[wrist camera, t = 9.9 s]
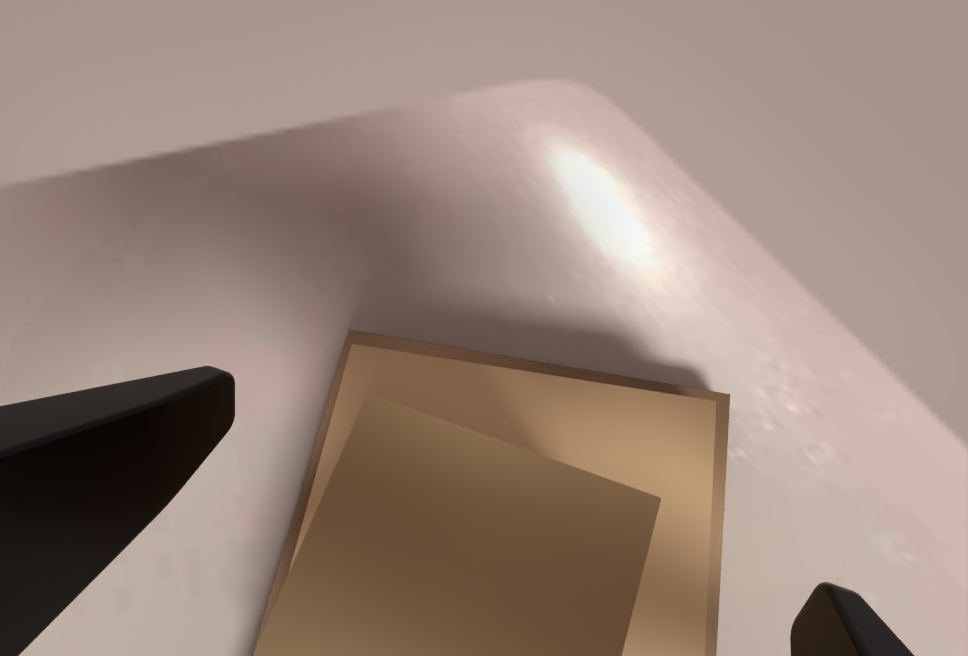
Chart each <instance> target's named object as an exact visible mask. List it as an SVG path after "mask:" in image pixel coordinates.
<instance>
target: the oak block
mask: <svg viewBox="0 0 968 656" xmlns="http://www.w3.org/2000/svg"><path fill="white" fill-rule="evenodd" d="M660 502H661V498H660V497H657V496H655V495H652V494H649V493H646V492H643V491H641V490H638V489H635V488H632V487H629V486H627V485H624V484H621V483H618V482H616V481H613V480H610V479H607V478H604V477H602V476H599V475H596V474H593V473H590V472H588V471H585V470H582V469H579V468H576V467H574V466H571V465H568V464H565V463H563V462H560V461H557V460H554V459H551V458H549V457H546V456H543V455H540V454H537V453H535V452H532V451H529V450H526V449H524V448H521V447H518V446H515V445H512V444H510V443H507V442H504V441H501V440H498V439H496V438H493V437H490V436H487V435H484V434H482V433H479V432H476V431H473V430H471V429H468V428H465V427H462V426H459V425H457V424H454V423H451V422H448V421H445V420H443V419H440V418H437V417H434V416H432V415H429V414H426V413H423V412H420V411H418V410H415V409H412V408H409V407H406V406H404V405H401V404H398V403H395V402H392V401H390V400H387V399H384V398H381V397H379V396H376V395H373V394H370V393H367V395H366V398H365V400H364V402H363V405H362V407H361V409H360V411H359V414H358V416H357V418H356V421H355V423H354V425H353V427H352V430H351V432H350V434H349V437H348V439H347V441H346V443H345V446H344V448H343V450H342V453H341V455H340V457H339V459H338V462H337V464H336V466H335V469H334V471H333V473H332V475H331V478H330V480H329V482H328V485H327V487H326V489H325V491H324V494H323V496H322V498H321V501H320V503H319V505H318V507H317V510H316V512H315V514H314V517H313V519H312V521H311V523H310V526H309V528H308V530H307V533H306V535H305V537H304V539H303V542H302V544H301V546H300V549H299V551H298V553H297V555H296V558H295V560H294V562H293V565H292V567H291V569H290V571H289V574H288V576H287V578H286V581H285V583H284V585H283V587H282V590H281V592H280V594H279V597H278V599H277V601H276V603H275V606H274V608H273V610H272V613H271V615H270V617H269V620H268V622H267V624H266V626H265V629H264V631H263V633H262V636H261V638H260V640H259V642H258V645H257V647H256V649H255V652H254V654H253V656H622V652H623V648H624V644H625V640H626V636H627V632H628V628H629V624H630V620H631V616H632V612H633V608H634V605H635V601H636V597H637V593H638V589H639V585H640V581H641V577H642V573H643V569H644V565H645V561H646V557H647V553H648V549H649V545H650V541H651V537H652V533H653V529H654V525H655V521H656V518H657V514H658V510H659V506H660Z"/></svg>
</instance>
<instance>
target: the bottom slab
mask: <svg viewBox="0 0 968 656" xmlns="http://www.w3.org/2000/svg"><path fill="white" fill-rule="evenodd" d="M352 344H356V345H363V346H369V347H375V348H382V349H388V350H394V351H401V352H407V353H413V354H420V355H426V356H433V357H439V358H445V359H452V360H458V361H464V362H471V363H477V364H483V365H490V366H496V367H503V368H509V369H515V370H522V371H528V372H534V373H541V374H547V375H553V376H560V377H566V378H573V379H579V380H585V381H592V382H598V383H604V384H611V385H617V386H623V387H630V388H636V389H643V390H649V391H655V392H662V393H668V394H674V395H681V396H687V397H693V398H700V399H706V400H713V401H716V421H715V443H714V465H713V487H712V509H711V531H710V553H709V575H708V597H707V619H706V641H705V656H716V650H717V631H718V612H719V593H720V574H721V556H722V537H723V518H724V499H725V480H726V461H727V442H728V423H729V404H730V394H724V393H719V392H713V391H707V390H701V389H695V388H689V387H683V386H677V385H671V384H666V383H660V382H654V381H648V380H642V379H636V378H630V377H624V376H618V375H613V374H607V373H601V372H595V371H589V370H583V369H577V368H571V367H566V366H560V365H554V364H548V363H542V362H536V361H530V360H524V359H518V358H513V357H507V356H501V355H495V354H489V353H483V352H477V351H471V350H465V349H460V348H454V347H448V346H442V345H436V344H430V343H424V342H418V341H412V340H407V339H401V338H395V337H389V336H383V335H377V334H371V333H365V332H360V331H354V330H349V332H348V336H347V339H346V342H345V346H344V349H343V353H342V356H341V359H340V363H339V366H338V369H337V373H336V376H335V379H334V383H333V386H332V389H331V393H330V396H329V399H328V403H327V406H326V410H325V413H324V416H323V420H322V423H321V426H320V430H319V433H318V436H317V440H316V443H315V446H314V450H313V453H312V457H311V460H310V463H309V467H308V470H307V473H306V477H305V480H304V483H303V487H302V490H301V493H300V497H299V500H298V503H297V507H296V510H295V514H294V517H293V520H292V524H291V527H290V530H289V534H288V537H287V540H286V544H285V547H284V550H283V554H282V557H281V560H280V564H279V567H278V571H277V574H276V577H275V581H274V584H273V587H272V591H271V594H270V597H269V601H268V604H267V607H266V611H265V614H264V618H263V621H262V624H261V628H260V631H259V634H258V638H257V641H256V644H255V648H254V651H253V654H254V652H255V649H256V647H257V645H258V642H259V640H260V638H261V636H262V633H263V631H264V629H265V626H266V624H267V622H268V620H269V617H270V615H271V613H272V610H273V608H274V606H275V603H276V601H277V599H278V597H279V594H280V592H281V590H282V587H283V585H284V583H285V581H286V578H287V576H288V574H289V570H290V566H291V563H292V559H293V555H294V552H295V548H296V545H297V541H298V537H299V534H300V530H301V526H302V523H303V519H304V515H305V512H306V508H307V505H308V501H309V497H310V494H311V490H312V486H313V483H314V479H315V476H316V472H317V468H318V465H319V461H320V457H321V454H322V450H323V446H324V443H325V439H326V436H327V432H328V428H329V425H330V421H331V417H332V414H333V410H334V407H335V403H336V399H337V396H338V392H339V388H340V385H341V381H342V378H343V374H344V370H345V367H346V363H347V359H348V356H349V352H350V348H351V345H352ZM253 654H252V656H253Z"/></svg>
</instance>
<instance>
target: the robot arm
mask: <svg viewBox="0 0 968 656" xmlns="http://www.w3.org/2000/svg"><path fill="white" fill-rule="evenodd" d="M234 417H235V381H234V378H233V376H232V375H231V374H230V373H229V372H226V371H223V370H221V369H218V368H215V367H211V366H204V367H199V368H193V369H188V370H183V371H178V372H173V373H168V374H163V375H158V376H153V377H147V378H142V379H137V380H132V381H127V382H122V383H117V384H112V385H107V386H101V387H96V388H91V389H86V390H81V391H76V392H71V393H66V394H61V395H55V396H50V397H45V398H40V399H35V400H30V401H25V402H20V403H15V404H10V405H4V406H0V656H19V655H20V654H21V653H22V652H23V651H24V650H25V649H26V648H27V647H28V646H29V645H30V644H31V643H32V642H33V641H34V640H35V639H36V638H37V636H38V635H39V634H40V633H41V632H42V631H43V630H44V629H45V628H46V627H47V626H48V625H49V624H50V623H51V622H52V621H53V620H54V619H55V618H56V617H57V616H58V615H59V614H60V613H61V612H62V611H63V610H64V609H65V608H66V607H67V606H68V605H69V604H70V603H71V602H72V601H73V600H74V599H75V598H76V597H77V596H78V595H79V594H80V593H81V592H82V591H83V590H84V589H85V588H86V587H87V586H88V585H89V584H90V583H91V582H92V581H93V580H94V579H95V578H96V577H97V576H98V575H99V574H100V573H101V572H102V571H103V570H104V569H105V568H106V567H107V566H108V565H109V564H110V563H111V562H112V561H113V560H114V559H115V558H116V557H117V556H118V555H119V554H120V553H121V552H122V551H123V550H124V549H125V548H126V547H127V546H128V545H129V544H130V543H131V542H132V541H133V540H134V539H135V538H136V537H137V536H138V535H139V534H140V533H141V532H142V531H143V529H144V528H145V527H146V526H147V525H148V524H149V523H150V522H151V521H152V520H153V519H154V518H155V517H156V516H157V515H158V514H159V513H160V512H161V511H162V510H163V509H164V508H165V507H166V506H167V505H168V504H169V502H170V501H171V500H172V499H173V498H174V497H175V496H176V494H177V493H178V492H179V491H180V490H181V489H182V487H183V486H184V485H185V484H186V482H187V481H188V480H189V479H190V477H191V476H192V475H193V474H194V473H195V471H196V470H197V469H198V468H199V466H200V465H201V464H202V463H203V462H204V460H205V459H206V458H207V457H208V455H209V454H210V453H211V452H212V450H213V449H214V448H215V447H216V446H217V444H218V443H219V442H220V441H221V439H222V438H223V437H224V436H225V435H226V433H227V432H228V431H229V429H230V428H231V426H232V424H233V421H234ZM790 641H791V656H914V655H913V654H912V652H911V651H910V650H909V649H908V648H907V647H906V646H905V645H904V644H903V643H902V641H901V640H900V639H899V638H898V637H897V636H896V635H895V634H894V633H893V631H892V630H891V629H890V628H889V627H888V626H887V625H886V624H885V623H884V622H883V620H882V619H881V618H880V617H879V616H878V615H877V614H876V613H875V612H874V610H873V609H872V608H871V607H870V606H869V605H868V604H867V603H866V602H865V601H864V599H863V598H862V597H861V596H860V595H859V594H857V593H856V592H854V591H852V590H849V589H846V588H843V587H840V586H837V585H834V584H832V583H829V582H823V583H820V584H819V585H818V586H817V587H816V588H815V589H814V591H813V592H812V594H811V595H810V597H809V598H808V600H807V602H806V603H805V605H804V606H803V608H802V609H801V611H800V612H799V614H798V615H797V617H796V619H795V620H794V623H793V625H792V629H791V637H790Z"/></svg>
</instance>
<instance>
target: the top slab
mask: <svg viewBox="0 0 968 656" xmlns="http://www.w3.org/2000/svg"><path fill="white" fill-rule="evenodd" d="M367 393H370V394H373V395H376V396H379V397H381V398H384V399H387V400H390V401H392V402H395V403H398V404H401V405H404V406H406V407H409V408H412V409H415V410H418V411H420V412H423V413H426V414H429V415H432V416H434V417H437V418H440V419H443V420H445V421H448V422H451V423H454V424H457V425H459V426H462V427H465V428H468V429H471V430H473V431H476V432H479V433H482V434H484V435H487V436H490V437H493V438H496V439H498V440H501V441H504V442H507V443H510V444H512V445H515V446H518V447H521V448H524V449H526V450H529V451H532V452H535V453H537V454H540V455H543V456H546V457H549V458H551V459H554V460H557V461H560V462H563V463H565V464H568V465H571V466H574V467H576V468H579V469H582V470H585V471H588V472H590V473H593V474H596V475H599V476H602V477H604V478H607V479H610V480H613V481H616V482H618V483H621V484H624V485H627V486H629V487H632V488H635V489H638V490H641V491H643V492H646V493H649V494H652V495H655V496H657V497H660V498H661V502H660V506H659V510H658V514H657V518H656V521H655V525H654V529H653V533H652V537H651V541H650V545H649V549H648V553H647V557H646V561H645V565H644V569H643V573H642V577H641V581H640V585H639V589H638V593H637V597H636V601H635V605H634V608H633V612H632V616H631V620H630V624H629V628H628V632H627V636H626V640H625V644H624V648H623V652H622V656H705V641H706V619H707V597H708V575H709V553H710V531H711V509H712V487H713V465H714V443H715V421H716V401H713V400H706V399H700V398H693V397H687V396H681V395H674V394H668V393H662V392H655V391H649V390H643V389H636V388H630V387H623V386H617V385H611V384H604V383H598V382H592V381H585V380H579V379H573V378H566V377H560V376H553V375H547V374H541V373H534V372H528V371H522V370H515V369H509V368H503V367H496V366H490V365H483V364H477V363H471V362H464V361H458V360H452V359H445V358H439V357H433V356H426V355H420V354H413V353H407V352H401V351H394V350H388V349H382V348H375V347H369V346H363V345H356V344H352V345H351V348H350V352H349V356H348V359H347V363H346V367H345V370H344V374H343V378H342V381H341V385H340V388H339V392H338V396H337V399H336V403H335V407H334V410H333V414H332V417H331V421H330V425H329V428H328V432H327V436H326V439H325V443H324V446H323V450H322V454H321V457H320V461H319V465H318V468H317V472H316V476H315V479H314V483H313V486H312V490H311V494H310V497H309V501H308V505H307V508H306V512H305V515H304V519H303V523H302V526H301V530H300V534H299V537H298V541H297V545H296V548H295V552H294V555H293V559H292V563H291V566H290V569H291V567H292V565H293V562H294V560H295V558H296V555H297V553H298V551H299V549H300V546H301V544H302V542H303V539H304V537H305V535H306V533H307V530H308V528H309V526H310V523H311V521H312V519H313V517H314V514H315V512H316V510H317V507H318V505H319V503H320V501H321V498H322V496H323V494H324V491H325V489H326V487H327V485H328V482H329V480H330V478H331V475H332V473H333V471H334V469H335V466H336V464H337V462H338V459H339V457H340V455H341V453H342V450H343V448H344V446H345V443H346V441H347V439H348V437H349V434H350V432H351V430H352V427H353V425H354V423H355V421H356V418H357V416H358V414H359V411H360V409H361V407H362V405H363V402H364V400H365V398H366V395H367ZM289 571H290V570H289Z"/></svg>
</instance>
